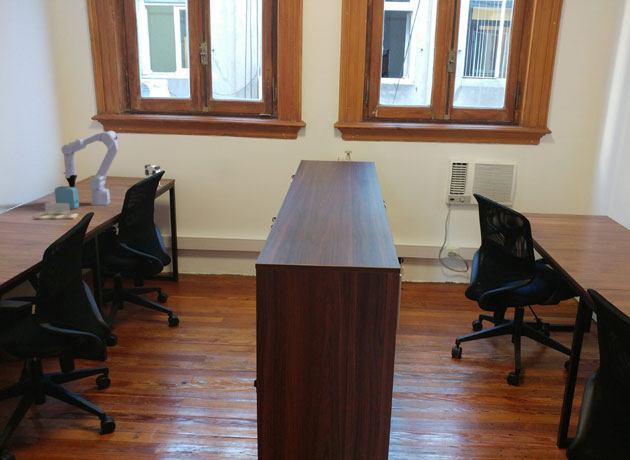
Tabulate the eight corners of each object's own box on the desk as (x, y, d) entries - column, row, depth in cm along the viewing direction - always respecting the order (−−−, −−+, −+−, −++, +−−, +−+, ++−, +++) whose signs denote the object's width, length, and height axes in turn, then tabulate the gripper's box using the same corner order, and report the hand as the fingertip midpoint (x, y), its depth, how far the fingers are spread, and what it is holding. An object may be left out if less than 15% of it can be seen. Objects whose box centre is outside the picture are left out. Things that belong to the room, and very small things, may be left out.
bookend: (78, 215, 304) (76, 202, 302) (73, 219, 297) (72, 206, 295) (39, 215, 302) (37, 203, 300) (34, 219, 294) (32, 206, 292)
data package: (79, 207, 320) (77, 187, 317) (74, 209, 316) (72, 189, 313) (61, 206, 323) (59, 186, 319) (56, 208, 318) (54, 187, 315)
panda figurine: (141, 187, 375) (139, 165, 371) (154, 184, 384) (153, 163, 380) (153, 190, 369) (152, 167, 365) (166, 187, 378) (165, 165, 374)
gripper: (66, 162, 331) (68, 185, 334) (59, 167, 317) (61, 190, 321) (79, 162, 332) (81, 185, 335) (72, 167, 318) (74, 190, 322)
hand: (72, 187), depth 328 cm, fingers closed
